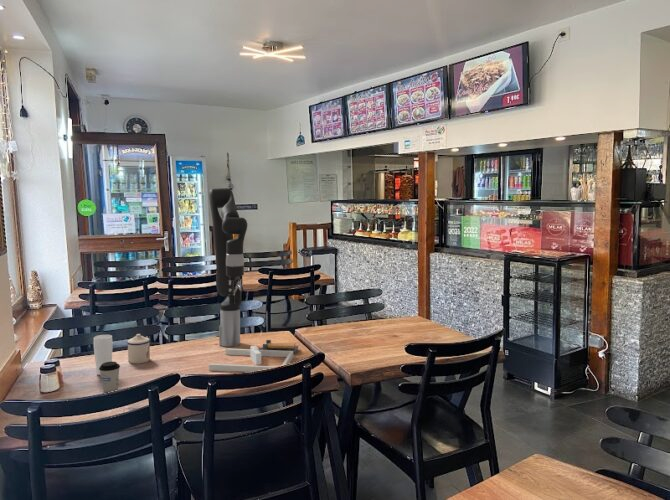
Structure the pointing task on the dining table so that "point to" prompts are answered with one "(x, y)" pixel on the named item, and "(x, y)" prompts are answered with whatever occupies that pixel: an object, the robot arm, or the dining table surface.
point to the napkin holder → (255, 354)
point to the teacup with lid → (138, 349)
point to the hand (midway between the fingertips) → (235, 301)
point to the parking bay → (247, 352)
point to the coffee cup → (109, 376)
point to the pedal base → (265, 347)
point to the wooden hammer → (281, 345)
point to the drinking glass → (102, 350)
